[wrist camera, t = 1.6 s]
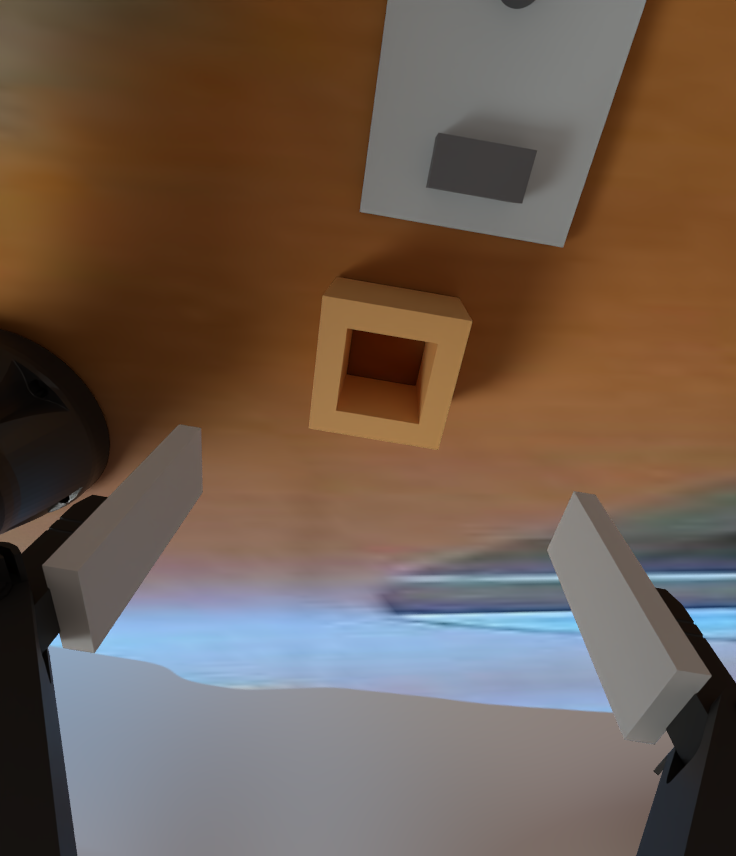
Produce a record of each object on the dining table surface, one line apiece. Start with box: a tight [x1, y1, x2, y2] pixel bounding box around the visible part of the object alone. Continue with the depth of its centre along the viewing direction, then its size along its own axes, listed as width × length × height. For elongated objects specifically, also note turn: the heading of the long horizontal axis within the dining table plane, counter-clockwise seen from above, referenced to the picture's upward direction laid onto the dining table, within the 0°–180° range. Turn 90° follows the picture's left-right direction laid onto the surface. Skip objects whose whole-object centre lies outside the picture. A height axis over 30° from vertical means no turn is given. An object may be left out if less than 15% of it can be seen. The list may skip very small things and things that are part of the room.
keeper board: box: [360, 0, 646, 247], centre depth 20 cm, size 12×16×8 cm
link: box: [309, 277, 473, 450], centre depth 28 cm, size 8×8×6 cm
